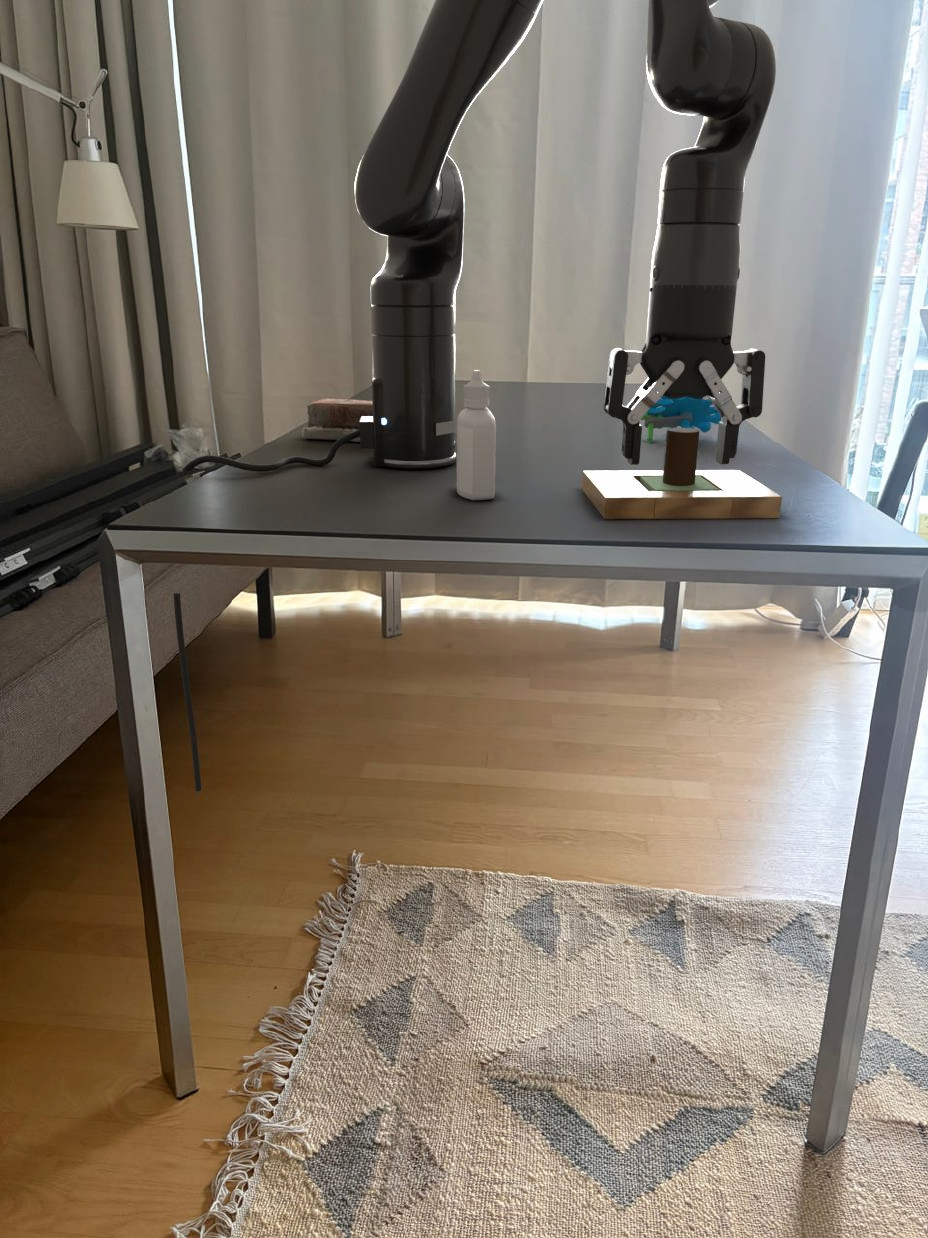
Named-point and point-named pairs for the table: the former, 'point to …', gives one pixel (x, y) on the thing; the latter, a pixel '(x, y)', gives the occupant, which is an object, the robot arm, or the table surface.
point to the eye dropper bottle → (476, 443)
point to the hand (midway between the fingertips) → (677, 463)
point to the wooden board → (680, 497)
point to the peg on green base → (679, 464)
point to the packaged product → (335, 418)
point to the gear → (681, 414)
